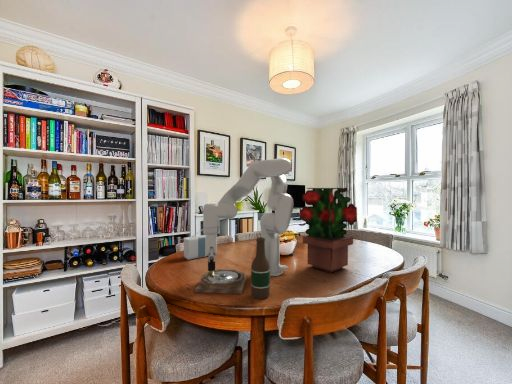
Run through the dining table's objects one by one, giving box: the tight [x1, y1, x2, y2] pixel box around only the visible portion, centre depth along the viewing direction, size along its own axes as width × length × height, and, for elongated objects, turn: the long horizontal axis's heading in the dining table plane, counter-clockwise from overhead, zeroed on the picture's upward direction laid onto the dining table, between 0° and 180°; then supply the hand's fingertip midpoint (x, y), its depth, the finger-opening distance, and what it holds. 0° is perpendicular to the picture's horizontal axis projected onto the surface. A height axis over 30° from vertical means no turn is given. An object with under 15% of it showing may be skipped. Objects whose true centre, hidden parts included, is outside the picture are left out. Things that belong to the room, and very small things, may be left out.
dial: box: [208, 261, 238, 283], centre depth 113 cm, size 14×14×9 cm
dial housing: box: [194, 268, 248, 295], centre depth 113 cm, size 20×20×4 cm
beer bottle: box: [250, 236, 271, 300], centre depth 101 cm, size 8×8×24 cm
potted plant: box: [299, 187, 358, 274], centre depth 136 cm, size 22×22×45 cm
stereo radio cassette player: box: [183, 229, 218, 261], centre depth 158 cm, size 21×8×20 cm, turn 130°
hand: (211, 267), depth 113 cm, fingers open, 8 cm apart
